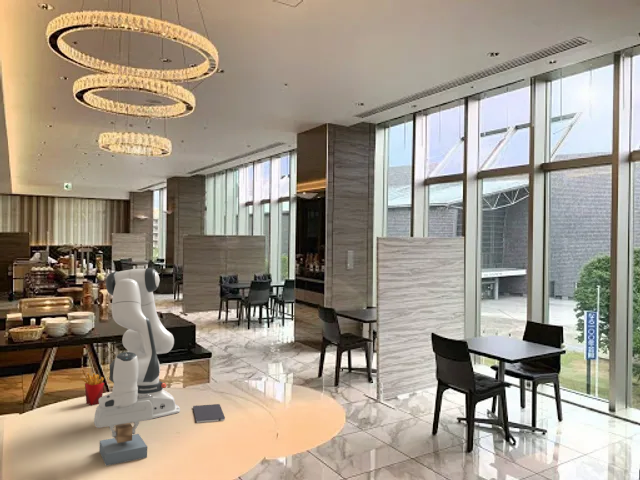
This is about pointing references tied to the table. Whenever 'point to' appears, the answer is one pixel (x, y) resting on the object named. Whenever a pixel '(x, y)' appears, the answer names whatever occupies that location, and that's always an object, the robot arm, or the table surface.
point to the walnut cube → (123, 432)
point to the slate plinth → (122, 450)
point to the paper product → (208, 413)
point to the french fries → (93, 389)
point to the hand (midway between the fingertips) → (123, 435)
